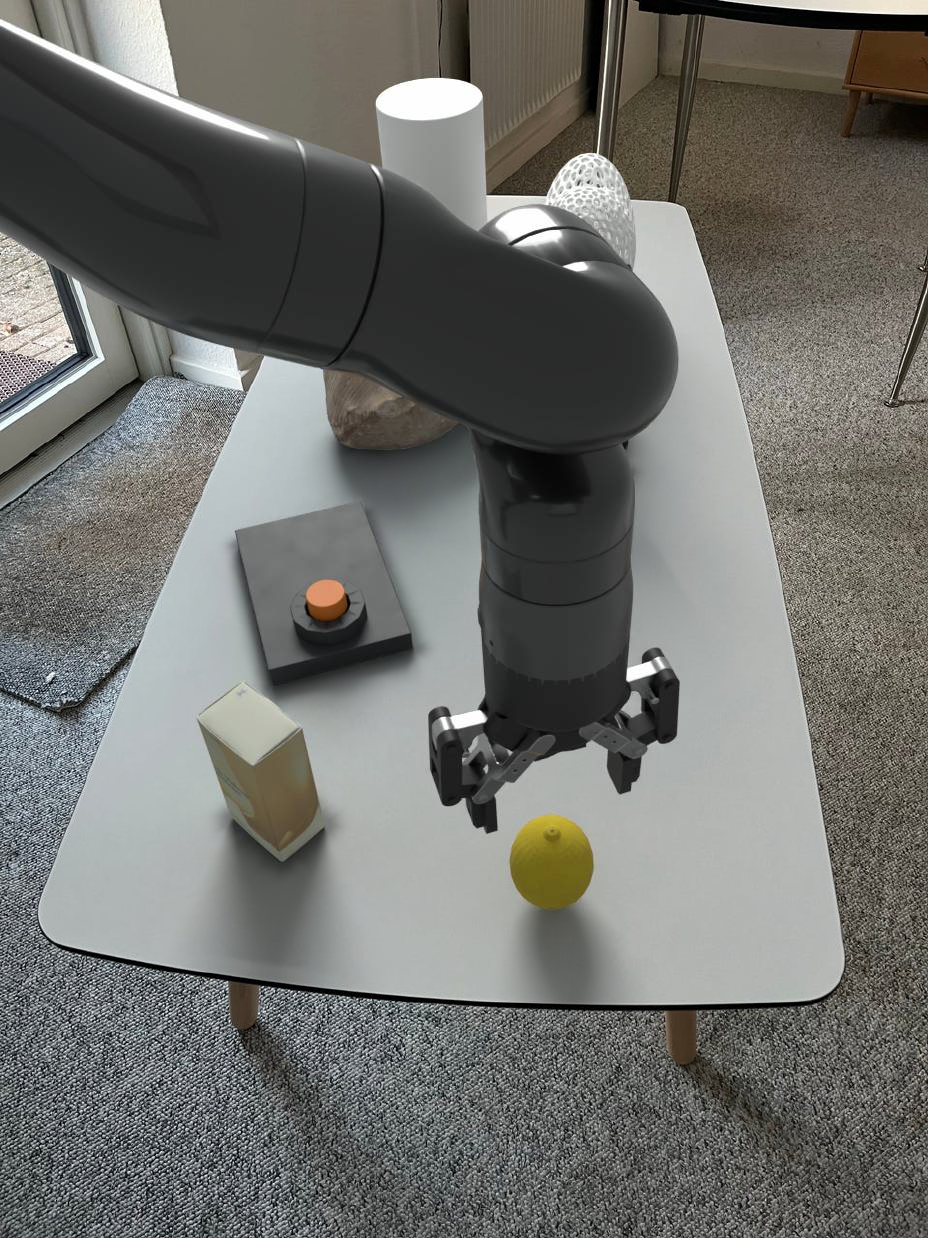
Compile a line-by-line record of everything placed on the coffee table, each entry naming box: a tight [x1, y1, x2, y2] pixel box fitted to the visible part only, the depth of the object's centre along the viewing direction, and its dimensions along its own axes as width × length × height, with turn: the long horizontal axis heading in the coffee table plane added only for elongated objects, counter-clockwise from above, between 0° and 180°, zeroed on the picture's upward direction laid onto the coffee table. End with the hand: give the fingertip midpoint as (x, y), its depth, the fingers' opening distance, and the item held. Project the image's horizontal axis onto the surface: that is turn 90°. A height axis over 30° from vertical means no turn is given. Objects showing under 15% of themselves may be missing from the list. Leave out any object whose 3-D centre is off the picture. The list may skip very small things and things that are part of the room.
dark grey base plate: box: [234, 500, 414, 686], centre depth 93 cm, size 12×18×4 cm, turn 17°
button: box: [306, 580, 347, 621], centre depth 88 cm, size 3×3×2 cm
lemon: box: [509, 814, 595, 911], centre depth 71 cm, size 6×6×8 cm
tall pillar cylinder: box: [375, 77, 488, 231], centre depth 115 cm, size 11×11×25 cm
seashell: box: [322, 369, 459, 451], centre depth 108 cm, size 16×17×15 cm
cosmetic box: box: [195, 680, 326, 863], centre depth 74 cm, size 6×4×12 cm
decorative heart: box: [543, 152, 637, 272], centre depth 117 cm, size 18×11×17 cm, turn 175°
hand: (553, 801), depth 65 cm, fingers open, 8 cm apart
